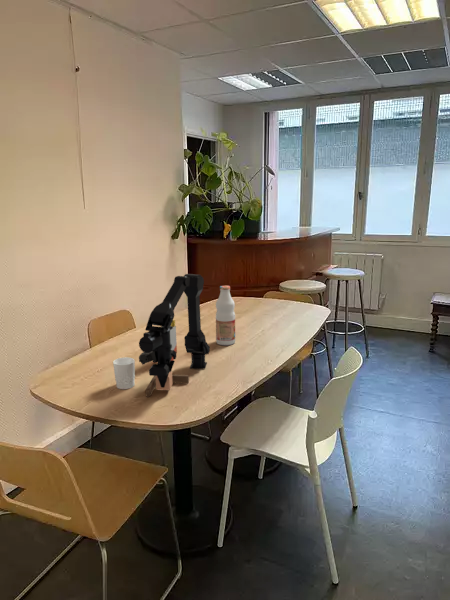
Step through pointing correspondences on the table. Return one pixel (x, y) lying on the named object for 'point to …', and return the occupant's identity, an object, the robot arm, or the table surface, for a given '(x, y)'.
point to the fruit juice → (225, 318)
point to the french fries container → (173, 337)
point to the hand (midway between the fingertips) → (164, 384)
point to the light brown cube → (167, 385)
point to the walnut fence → (175, 379)
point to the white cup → (124, 372)
